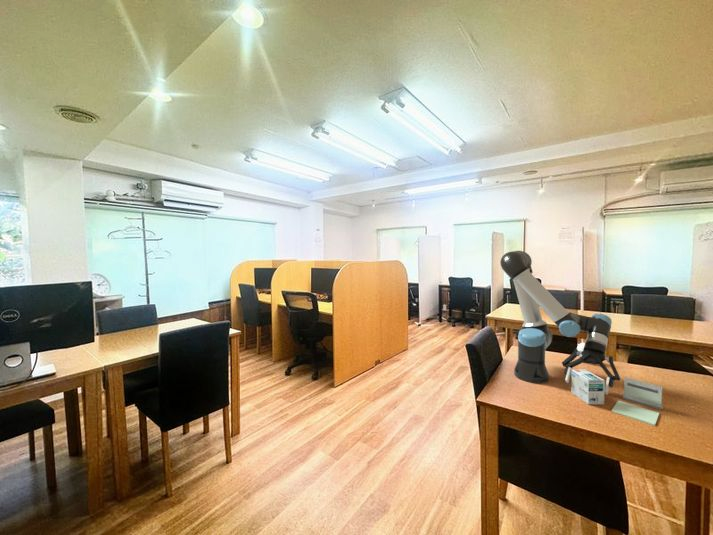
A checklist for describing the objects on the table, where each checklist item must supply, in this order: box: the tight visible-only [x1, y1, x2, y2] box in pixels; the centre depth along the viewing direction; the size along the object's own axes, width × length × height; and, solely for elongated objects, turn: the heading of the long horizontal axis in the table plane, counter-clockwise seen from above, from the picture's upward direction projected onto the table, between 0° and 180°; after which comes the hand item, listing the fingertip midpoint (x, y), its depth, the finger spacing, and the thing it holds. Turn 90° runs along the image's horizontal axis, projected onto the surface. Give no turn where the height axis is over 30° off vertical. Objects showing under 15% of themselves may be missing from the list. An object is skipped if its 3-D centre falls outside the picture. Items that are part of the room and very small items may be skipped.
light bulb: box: [576, 342, 588, 364], centre depth 161 cm, size 7×7×11 cm
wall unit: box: [622, 376, 664, 411], centre depth 119 cm, size 12×3×9 cm, turn 38°
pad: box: [611, 400, 660, 426], centre depth 113 cm, size 12×11×1 cm
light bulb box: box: [570, 368, 606, 405], centre depth 124 cm, size 11×7×11 cm, turn 177°
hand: (585, 387), depth 124 cm, fingers open, 13 cm apart
